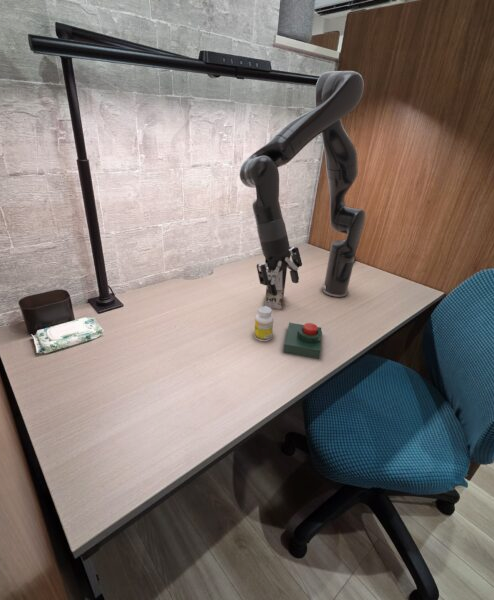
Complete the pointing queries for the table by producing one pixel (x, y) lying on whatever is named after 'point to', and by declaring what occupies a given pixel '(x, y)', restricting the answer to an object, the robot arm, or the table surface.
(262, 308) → the supplement bottle
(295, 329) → the console
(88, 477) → the table surface
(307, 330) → the button
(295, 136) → the robot arm
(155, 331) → the table surface
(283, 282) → the coffee box
